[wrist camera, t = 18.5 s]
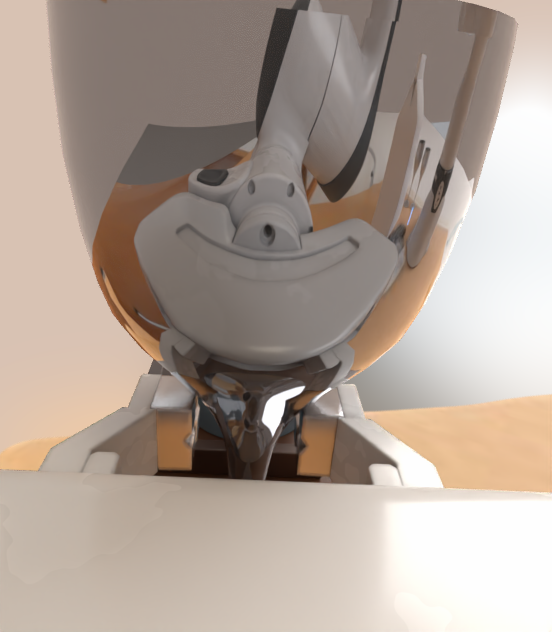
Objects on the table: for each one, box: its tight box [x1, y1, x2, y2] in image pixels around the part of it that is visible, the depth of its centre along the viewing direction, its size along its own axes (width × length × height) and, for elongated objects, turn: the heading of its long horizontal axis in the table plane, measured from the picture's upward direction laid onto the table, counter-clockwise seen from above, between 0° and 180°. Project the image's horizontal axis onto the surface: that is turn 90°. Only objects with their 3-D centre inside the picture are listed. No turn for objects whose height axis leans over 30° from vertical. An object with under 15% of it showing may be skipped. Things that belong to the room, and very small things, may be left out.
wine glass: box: [46, 0, 518, 480], centre depth 13 cm, size 8×8×15 cm
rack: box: [148, 359, 333, 483], centre depth 22 cm, size 15×18×12 cm
